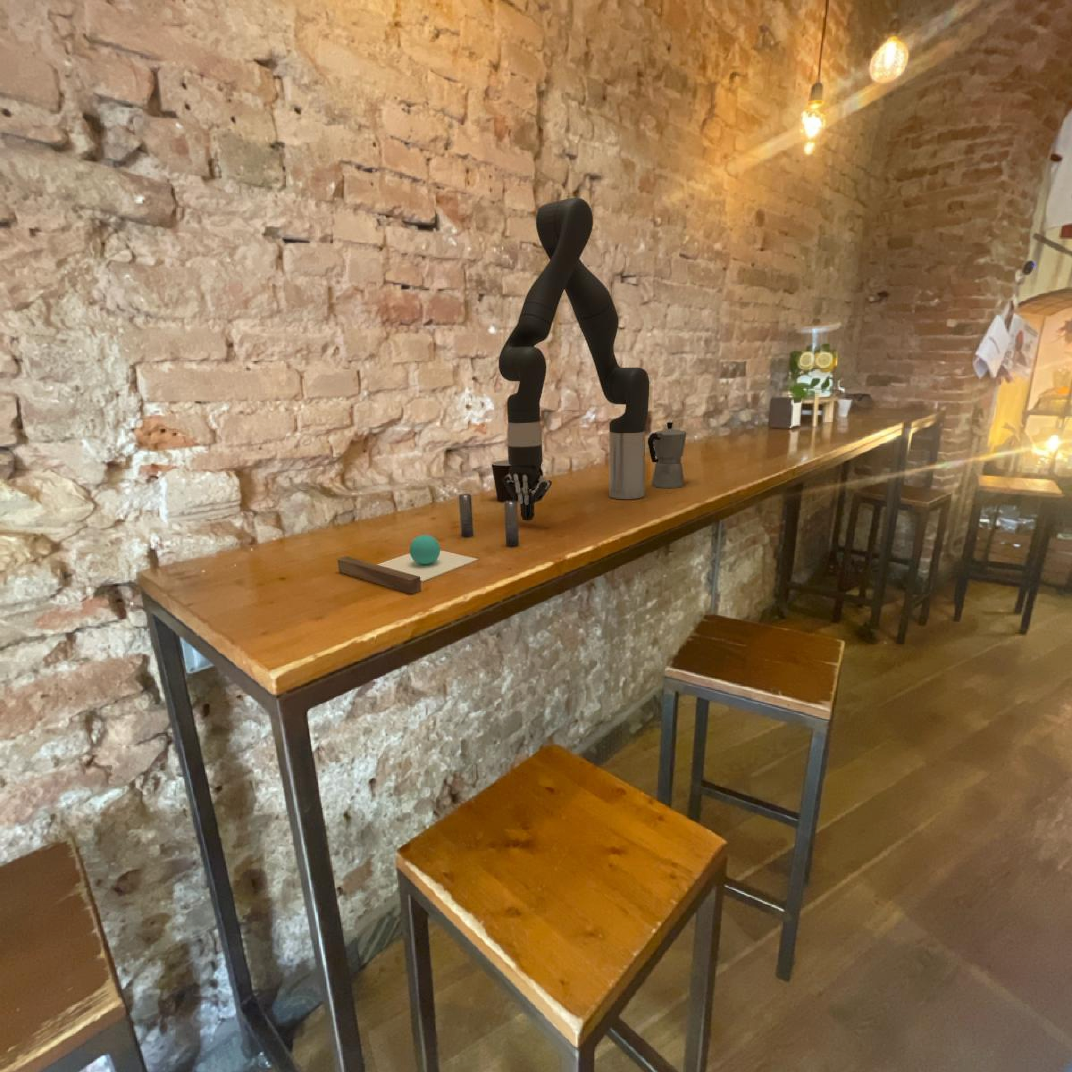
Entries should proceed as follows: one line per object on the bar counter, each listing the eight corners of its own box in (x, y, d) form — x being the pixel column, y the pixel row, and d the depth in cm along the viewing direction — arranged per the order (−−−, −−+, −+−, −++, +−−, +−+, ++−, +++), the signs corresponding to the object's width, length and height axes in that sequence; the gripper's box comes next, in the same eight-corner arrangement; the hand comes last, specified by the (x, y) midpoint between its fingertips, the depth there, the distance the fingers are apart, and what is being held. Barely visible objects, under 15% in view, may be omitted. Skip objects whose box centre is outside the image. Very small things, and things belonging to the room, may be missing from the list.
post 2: (511, 542, 127) (509, 499, 125) (521, 544, 126) (519, 501, 123) (503, 545, 125) (501, 502, 123) (513, 547, 124) (511, 504, 121)
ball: (416, 567, 117) (430, 543, 119) (436, 572, 114) (450, 547, 116) (398, 552, 113) (413, 527, 115) (418, 557, 110) (434, 531, 112)
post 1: (467, 533, 135) (464, 493, 132) (475, 535, 133) (473, 494, 131) (458, 536, 133) (456, 495, 130) (467, 538, 131) (464, 496, 129)
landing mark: (427, 548, 125) (427, 547, 125) (478, 560, 117) (477, 559, 117) (371, 567, 115) (371, 566, 114) (422, 581, 106) (422, 580, 106)
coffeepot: (669, 479, 184) (671, 419, 179) (695, 484, 177) (698, 420, 172) (634, 487, 175) (635, 423, 170) (660, 492, 168) (662, 426, 163)
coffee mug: (497, 504, 160) (495, 466, 157) (490, 497, 168) (488, 461, 165) (539, 500, 163) (538, 463, 160) (531, 494, 171) (530, 458, 168)
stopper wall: (348, 569, 114) (346, 556, 113) (421, 590, 102) (420, 576, 101) (339, 572, 113) (337, 559, 112) (412, 594, 101) (410, 580, 100)
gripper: (559, 442, 133) (561, 519, 137) (512, 438, 140) (515, 512, 145) (538, 446, 127) (540, 527, 132) (490, 443, 135) (494, 519, 140)
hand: (527, 519), depth 139 cm, fingers closed
